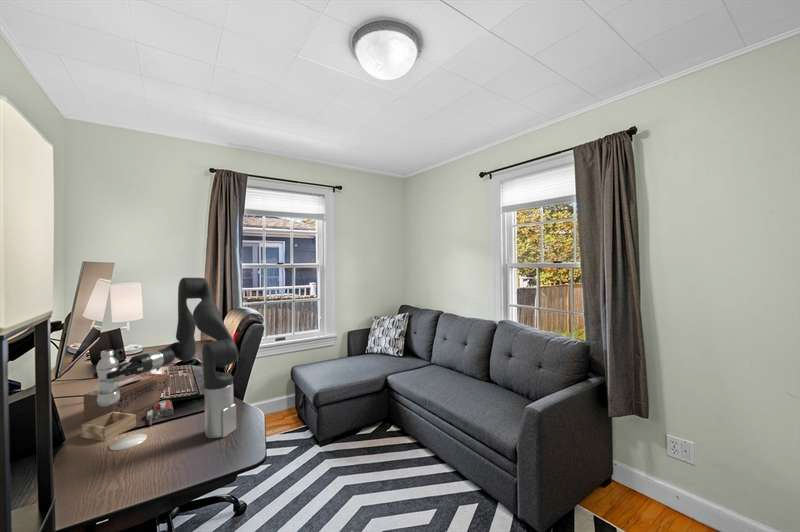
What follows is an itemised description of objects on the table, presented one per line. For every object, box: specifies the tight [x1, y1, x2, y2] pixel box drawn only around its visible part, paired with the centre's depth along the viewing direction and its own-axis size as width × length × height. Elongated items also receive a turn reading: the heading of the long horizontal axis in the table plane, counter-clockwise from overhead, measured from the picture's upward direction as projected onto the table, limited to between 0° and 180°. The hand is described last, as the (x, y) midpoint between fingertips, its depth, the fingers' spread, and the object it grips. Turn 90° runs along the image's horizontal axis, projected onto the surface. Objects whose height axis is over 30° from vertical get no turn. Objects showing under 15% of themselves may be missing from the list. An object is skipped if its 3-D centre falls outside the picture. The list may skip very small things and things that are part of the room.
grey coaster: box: [109, 433, 148, 451], centre depth 114 cm, size 10×10×1 cm
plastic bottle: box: [95, 349, 120, 407], centre depth 121 cm, size 6×7×20 cm
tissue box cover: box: [83, 372, 171, 420], centre depth 144 cm, size 26×14×10 cm, turn 170°
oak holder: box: [80, 412, 137, 442], centre depth 121 cm, size 12×11×4 cm
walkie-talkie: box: [146, 399, 174, 426], centre depth 134 cm, size 9×4×20 cm
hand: (100, 376), depth 119 cm, fingers closed on plastic bottle, 6 cm apart
